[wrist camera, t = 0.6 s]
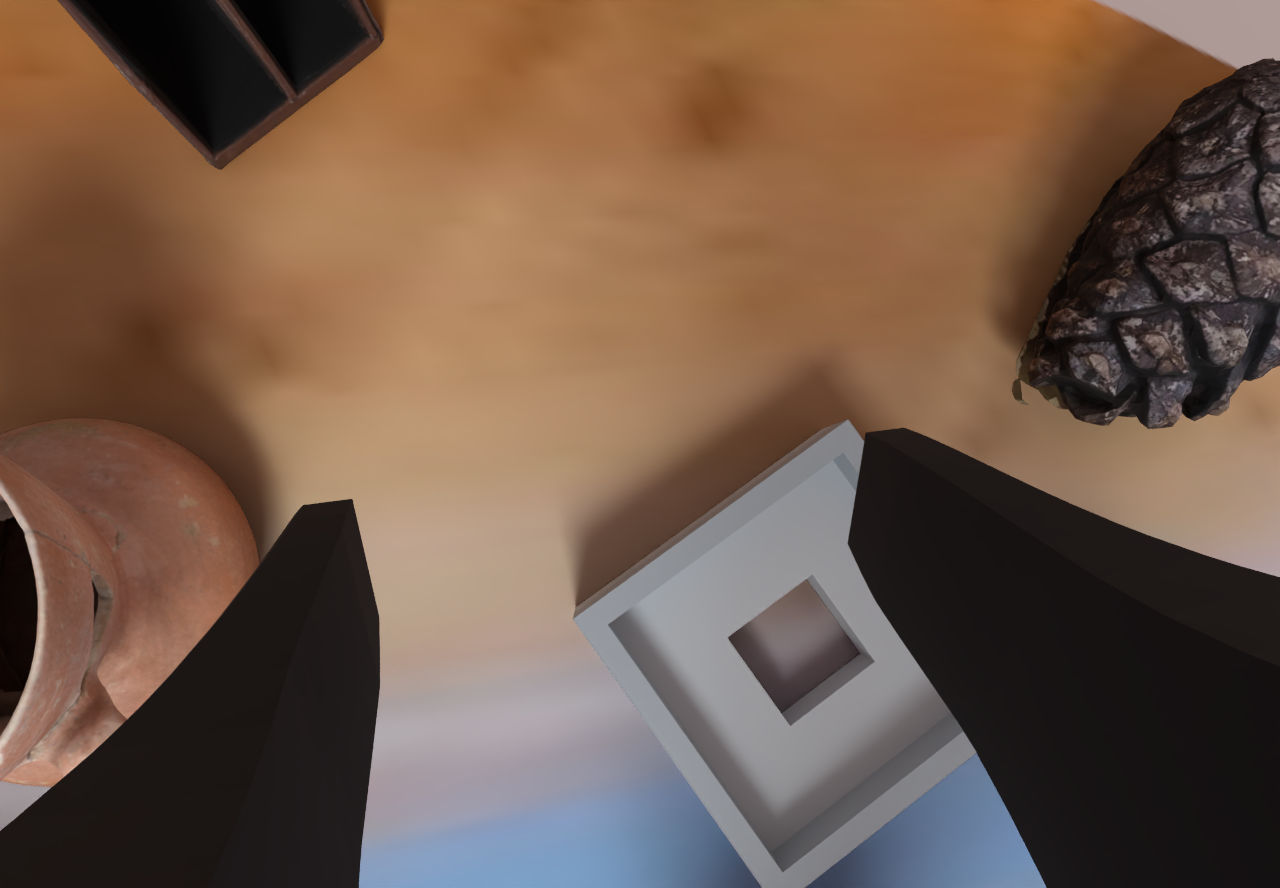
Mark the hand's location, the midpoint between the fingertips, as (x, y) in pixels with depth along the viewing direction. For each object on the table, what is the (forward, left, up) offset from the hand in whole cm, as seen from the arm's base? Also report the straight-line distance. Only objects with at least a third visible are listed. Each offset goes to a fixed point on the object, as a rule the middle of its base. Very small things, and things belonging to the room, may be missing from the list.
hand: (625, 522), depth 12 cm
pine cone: (-7, -27, -26) cm, 38 cm away
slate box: (-10, -4, -26) cm, 28 cm away
